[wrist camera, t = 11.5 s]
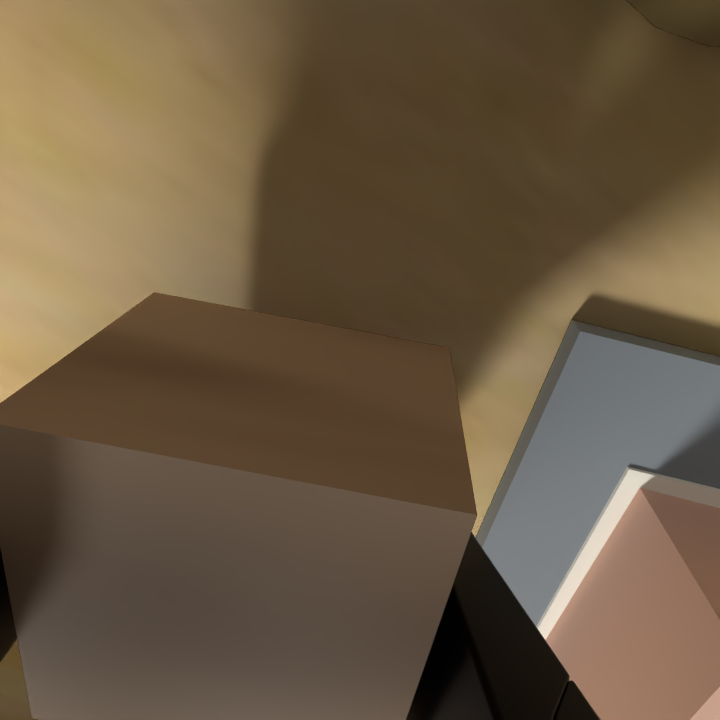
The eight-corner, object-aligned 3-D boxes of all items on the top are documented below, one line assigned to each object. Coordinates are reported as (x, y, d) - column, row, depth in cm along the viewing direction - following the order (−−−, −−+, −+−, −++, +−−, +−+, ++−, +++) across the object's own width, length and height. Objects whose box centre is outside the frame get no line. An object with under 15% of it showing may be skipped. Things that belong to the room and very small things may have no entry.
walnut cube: (391, 562, 11) (382, 785, 7) (155, 517, 11) (32, 717, 7) (449, 347, 9) (477, 515, 5) (154, 292, 9) (-23, 419, 5)
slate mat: (772, 780, 17) (786, 806, 16) (406, 695, 16) (405, 719, 16) (1125, 457, 11) (1168, 477, 10) (571, 319, 11) (581, 332, 10)
